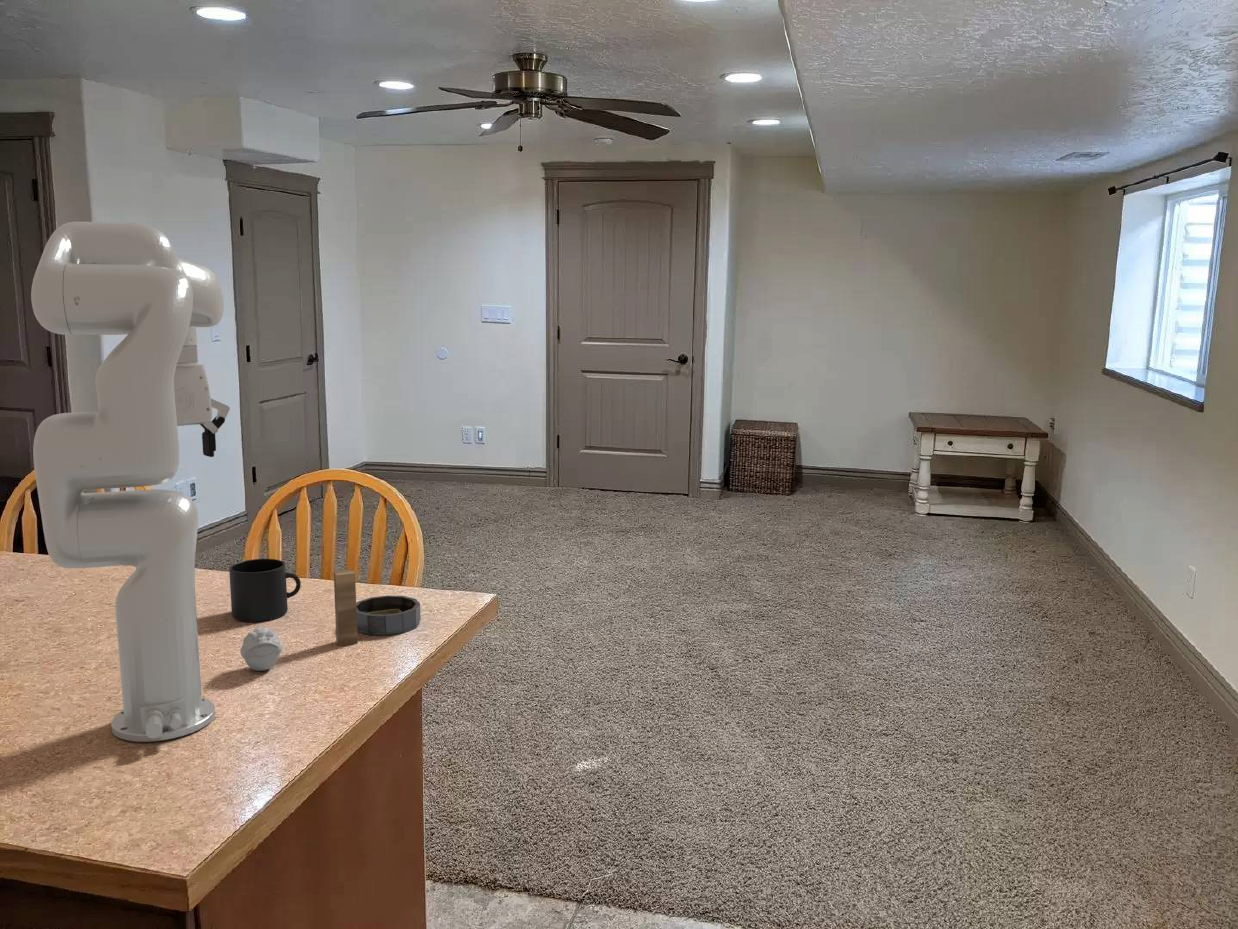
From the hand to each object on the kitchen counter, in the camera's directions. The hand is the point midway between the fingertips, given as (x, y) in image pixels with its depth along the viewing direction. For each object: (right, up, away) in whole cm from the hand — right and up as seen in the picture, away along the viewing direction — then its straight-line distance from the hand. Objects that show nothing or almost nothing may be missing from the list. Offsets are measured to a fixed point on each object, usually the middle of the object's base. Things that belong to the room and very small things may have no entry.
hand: (179, 458), depth 163 cm
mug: (+11, -28, +12) cm, 32 cm away
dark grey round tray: (+33, -29, +6) cm, 45 cm away
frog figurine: (+19, -33, -15) cm, 41 cm away
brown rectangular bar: (+29, -30, -2) cm, 42 cm away
